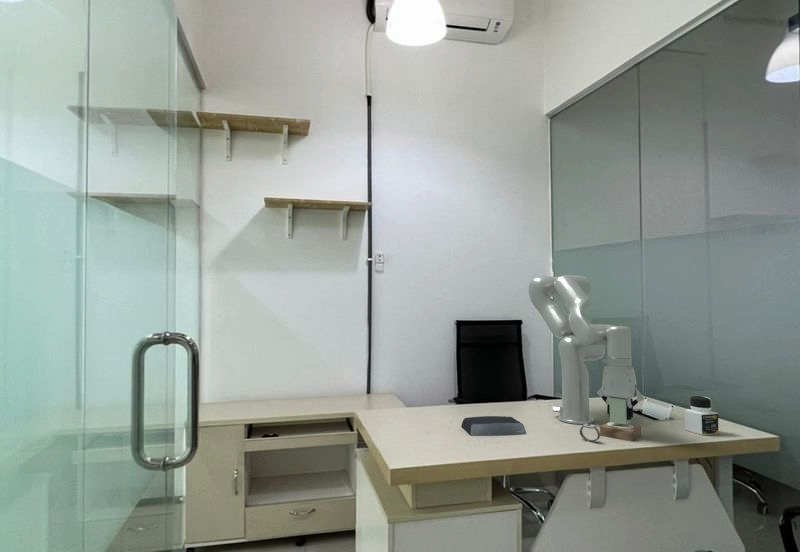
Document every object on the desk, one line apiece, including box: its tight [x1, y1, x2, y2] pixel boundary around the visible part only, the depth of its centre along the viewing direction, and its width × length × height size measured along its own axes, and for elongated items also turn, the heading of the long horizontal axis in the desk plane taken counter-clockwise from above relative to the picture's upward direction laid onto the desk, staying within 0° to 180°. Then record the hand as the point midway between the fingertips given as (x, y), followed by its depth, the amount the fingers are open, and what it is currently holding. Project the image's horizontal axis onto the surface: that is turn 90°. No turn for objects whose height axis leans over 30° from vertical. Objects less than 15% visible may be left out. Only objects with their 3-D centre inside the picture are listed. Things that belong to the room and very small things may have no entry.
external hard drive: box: [460, 415, 527, 437], centre depth 163 cm, size 13×19×4 cm
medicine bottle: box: [683, 395, 720, 436], centre depth 163 cm, size 7×7×12 cm
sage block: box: [609, 397, 632, 425], centre depth 158 cm, size 5×5×8 cm
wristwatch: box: [579, 423, 601, 443], centre depth 151 cm, size 6×3×5 cm, turn 44°
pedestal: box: [599, 420, 642, 442], centre depth 158 cm, size 10×10×3 cm
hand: (620, 417), depth 158 cm, fingers closed on sage block, 5 cm apart
